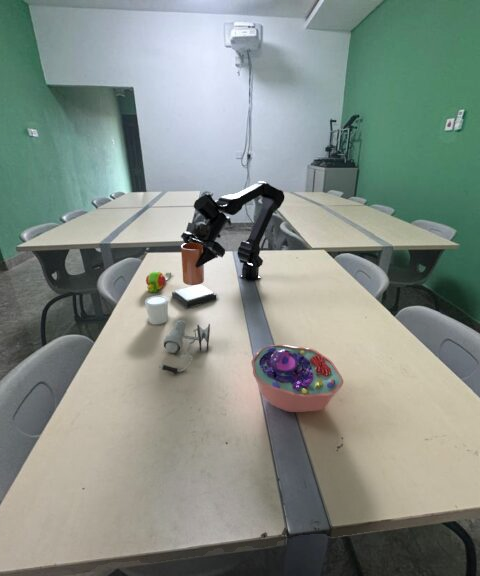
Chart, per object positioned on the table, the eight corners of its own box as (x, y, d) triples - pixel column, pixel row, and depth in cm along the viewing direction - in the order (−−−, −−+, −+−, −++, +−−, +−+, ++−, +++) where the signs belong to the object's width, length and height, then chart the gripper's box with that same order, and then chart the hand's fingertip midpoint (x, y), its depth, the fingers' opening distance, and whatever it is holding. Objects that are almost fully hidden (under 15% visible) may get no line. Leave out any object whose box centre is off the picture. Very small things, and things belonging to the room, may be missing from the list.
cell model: (320, 445, 60) (328, 400, 55) (234, 401, 69) (235, 359, 65) (347, 393, 73) (355, 352, 68) (272, 362, 83) (275, 324, 78)
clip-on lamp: (198, 384, 78) (213, 333, 92) (198, 368, 74) (214, 317, 88) (151, 377, 78) (174, 326, 92) (149, 360, 74) (172, 310, 89)
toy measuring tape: (141, 293, 117) (139, 277, 114) (162, 274, 134) (160, 259, 132) (158, 295, 116) (156, 278, 113) (176, 275, 134) (175, 261, 131)
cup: (203, 275, 117) (202, 242, 111) (204, 284, 110) (204, 249, 104) (182, 276, 115) (180, 242, 109) (183, 285, 109) (181, 250, 103)
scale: (200, 288, 122) (200, 283, 121) (216, 299, 115) (216, 292, 114) (172, 296, 115) (171, 290, 114) (187, 308, 108) (186, 301, 107)
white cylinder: (172, 315, 103) (171, 296, 100) (165, 326, 97) (163, 306, 94) (152, 313, 103) (150, 294, 101) (143, 324, 97) (140, 304, 94)
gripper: (183, 209, 111) (158, 245, 108) (217, 218, 99) (190, 259, 97) (202, 227, 119) (179, 261, 117) (236, 238, 108) (211, 276, 105)
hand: (189, 264), depth 109 cm, fingers closed on cup, 7 cm apart
